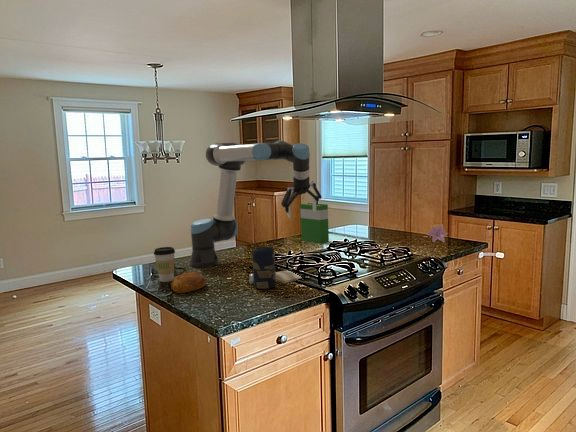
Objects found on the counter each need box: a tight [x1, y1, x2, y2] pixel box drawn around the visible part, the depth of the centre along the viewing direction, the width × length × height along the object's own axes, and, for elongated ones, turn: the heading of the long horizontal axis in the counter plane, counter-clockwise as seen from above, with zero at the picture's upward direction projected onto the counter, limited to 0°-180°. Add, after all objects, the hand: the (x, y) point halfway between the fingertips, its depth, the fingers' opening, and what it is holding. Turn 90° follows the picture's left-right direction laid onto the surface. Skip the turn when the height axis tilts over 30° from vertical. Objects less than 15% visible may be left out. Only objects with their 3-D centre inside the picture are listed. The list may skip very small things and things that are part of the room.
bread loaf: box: [170, 271, 207, 294], centre depth 196 cm, size 14×16×8 cm
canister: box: [251, 245, 277, 290], centre depth 192 cm, size 10×10×18 cm
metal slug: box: [248, 273, 254, 285], centre depth 200 cm, size 4×4×4 cm
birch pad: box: [275, 269, 302, 284], centre depth 208 cm, size 15×15×1 cm
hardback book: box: [299, 202, 330, 245], centre depth 289 cm, size 18×7×24 cm, turn 41°
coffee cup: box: [153, 246, 176, 283], centre depth 210 cm, size 10×10×15 cm
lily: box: [425, 223, 449, 243], centre depth 276 cm, size 12×12×10 cm
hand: (301, 213), depth 221 cm, fingers open, 13 cm apart
